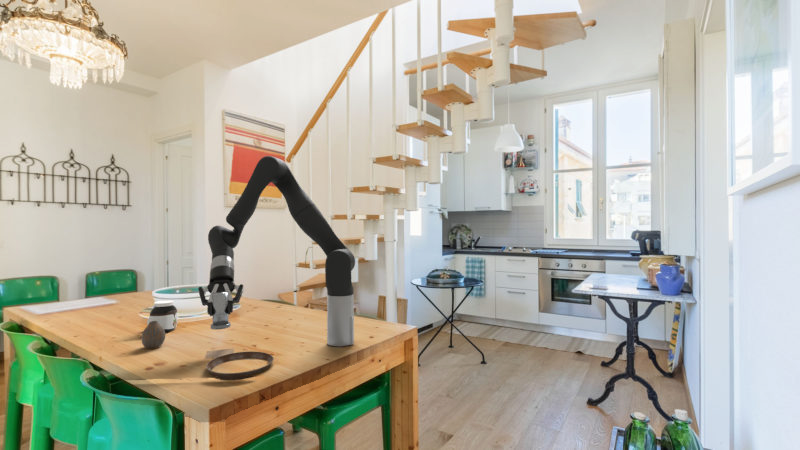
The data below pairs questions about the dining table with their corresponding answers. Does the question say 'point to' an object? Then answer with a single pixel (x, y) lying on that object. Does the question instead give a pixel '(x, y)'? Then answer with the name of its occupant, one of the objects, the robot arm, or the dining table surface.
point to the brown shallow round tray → (237, 356)
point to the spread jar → (164, 315)
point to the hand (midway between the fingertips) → (220, 313)
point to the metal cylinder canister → (220, 310)
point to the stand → (218, 353)
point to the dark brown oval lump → (153, 335)
